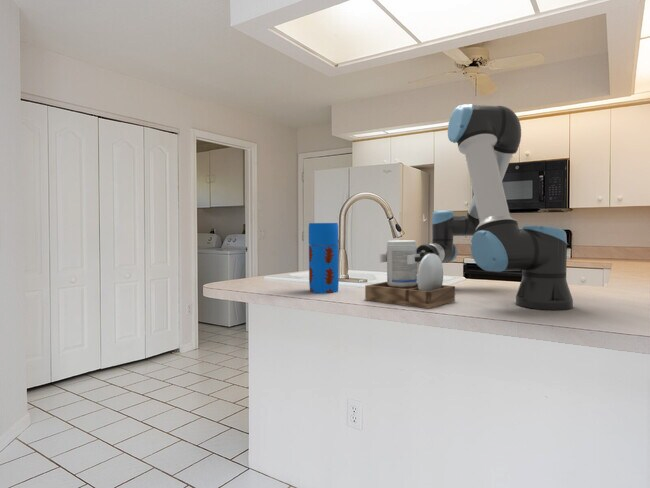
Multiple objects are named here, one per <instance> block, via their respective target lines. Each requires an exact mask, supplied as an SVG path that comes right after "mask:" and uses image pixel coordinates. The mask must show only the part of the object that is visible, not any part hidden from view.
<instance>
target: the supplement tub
mask: <svg viewBox="0 0 650 488" xmlns="http://www.w3.org/2000/svg"><path fill="white" fill-rule="evenodd" d="M417 248H418V247H417V240H412V239H411V240H410V239H409V240H403V239H402V240H401V239H398V240H397V239H396V240H387V242H386V253H387V262H386V277H387V278H386V280H387V281H386V282H387V284H388V285H389V286H392V287H413V286H416V284H417V272H418V266H417V265H418V263H415V264H407V256H408V255H416V254H417Z"/></svg>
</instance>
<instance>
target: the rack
mask: <svg viewBox="0 0 650 488" xmlns="http://www.w3.org/2000/svg"><path fill="white" fill-rule="evenodd" d="M364 290H365V291H364V293H365V295H364V296H365V298H364V299H365V301H370V302H379V303H386V304H395V305H401V306H407V305H408V306H409V307H415V306H416V308H423V307H425V308H424V309H433V308H435V307H439V306H443V305H445V304H446V305H447V304H449V303H453V302H455V301H456V297H455V295H456V294H455V293H456V287H455V285H445V284H442V287H441V288H440V289H435V290H431V291H420V290H419V289H418V284H416V286H413V287H392V286H389V285H388V284H387V281H383V282H377V283H373V284H366V285H365V289H364Z"/></svg>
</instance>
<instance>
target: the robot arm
mask: <svg viewBox="0 0 650 488" xmlns="http://www.w3.org/2000/svg"><path fill="white" fill-rule="evenodd" d="M447 138H448V140H449V141H450V142H451V143H454V144H456V143H457V148H458V151H459V152H460V153H461V154H463V155H465V156H464V157H465V161H466V164H467V165H466V166H467V169H468V175H469V180H470V184H471V190H472V194H473V196H472V197H471V198H472V199H471V201H470V205H469V207H468V210H467V213H466V214H465V215H454V211H453V210H435V211H433V212H432V218H431V229H432V231H431V233H432V234H431V235H432V236H431V238H432V241H431V243H428V244H421V245H419V246H418V247H417V254H416V255H408V256H407V264H415V263H417V264H420V262H421V260H422V258H423V257H424V256H425V255H426V254H436V255H437V256H438V257H439V258H440V260H441V262H442V264H449V263H451V262H453V261H454V260H456V258H457V256H458V248H457V246H456V245H455V244H454V237H463V236H465V237H466V236H467V237H468V236H469V237H470V236H471V240H470V243H471V244H470V251H471V256H472V259H473V261H474V262H475V263H476V265H477V266H478V267H479V268H480V269H482V270H483V271H486V272H495V273H501V272H513V271H514V272H515V271H519V272H520V271H522V272H521V281H520V284H519V286H518V289H517V291H516V293H515V304H516V305H517V306H520V307H523V308H529V309H538V310H551V311H553V310H554V311H555V310H570V309H573V307H574V299H573V295H572V294H571V290H570V287H569V285H568V281H567V257H568V256H567V253H568V252H567V250H568V249H567V248H568V242H567V241H568V240H567V239H568V238H567V233H566V231H565V230H564V229H562V228H559V227H554V226H553V227H552V226H544V225H530V224H529V225H523V226H522V228H521V229H520V228H519V223H518V220H517V219H515V218H513V217H511V214H510V210H509V205H508V202H507V201H508V200H507V198H506V194H505V189H504V186H503V179H504V177H505V175H506V172H507V170H508V167H509V164H510V162H511V158H512V157H513V155H515V154H517V153H518V150H519V147H520V144H521V141H522V140H521V139H522V126H521V122H520V120H519V117H518V116H517V114H516V113H515V112H514V111H513V109H510V108H509V107H507V106H504V105H485V104H484V105H482V104H481V105H480V104H479V105H478V104H472V103H469V104H459V105H458V106H456V107H455V109H454V110H453V112H452V113H451V115H450V118H449V121H448V125H447ZM379 263H387V252H385V253H379Z"/></svg>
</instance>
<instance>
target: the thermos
mask: <svg viewBox="0 0 650 488" xmlns="http://www.w3.org/2000/svg"><path fill="white" fill-rule="evenodd" d="M339 257H340V256H339V223H338V222H315V223H314V222H309V224H308V277H309V278H308V282H309V283H308V284H309V285H308V286H309V292H310V293H313V294H333V293H337V292H339V281H340V279H339V278H340V276H339V275H340V273H339V269H340V268H339V264H340V263H339Z"/></svg>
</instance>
